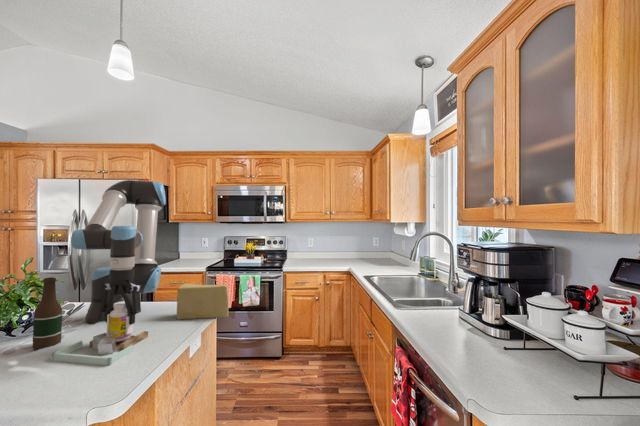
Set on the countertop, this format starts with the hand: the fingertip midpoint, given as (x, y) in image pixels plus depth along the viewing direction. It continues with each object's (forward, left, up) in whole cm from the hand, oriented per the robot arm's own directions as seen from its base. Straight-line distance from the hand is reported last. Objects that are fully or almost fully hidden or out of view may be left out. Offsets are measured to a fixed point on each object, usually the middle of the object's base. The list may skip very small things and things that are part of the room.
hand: (119, 332), depth 110 cm
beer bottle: (+6, -23, -5) cm, 24 cm away
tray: (+11, 0, -5) cm, 12 cm away
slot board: (0, 0, -5) cm, 5 cm away
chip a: (+5, -2, -4) cm, 6 cm away
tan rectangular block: (-35, +14, -5) cm, 38 cm away
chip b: (+7, +2, -4) cm, 9 cm away
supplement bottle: (0, 0, -3) cm, 3 cm away
